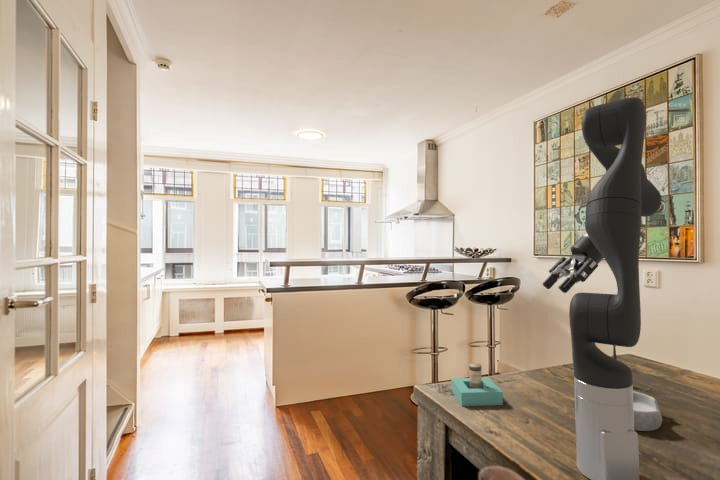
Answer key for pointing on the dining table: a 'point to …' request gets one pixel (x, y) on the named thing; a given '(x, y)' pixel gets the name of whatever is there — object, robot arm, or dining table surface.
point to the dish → (646, 412)
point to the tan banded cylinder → (475, 376)
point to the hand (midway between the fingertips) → (553, 288)
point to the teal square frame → (476, 392)
